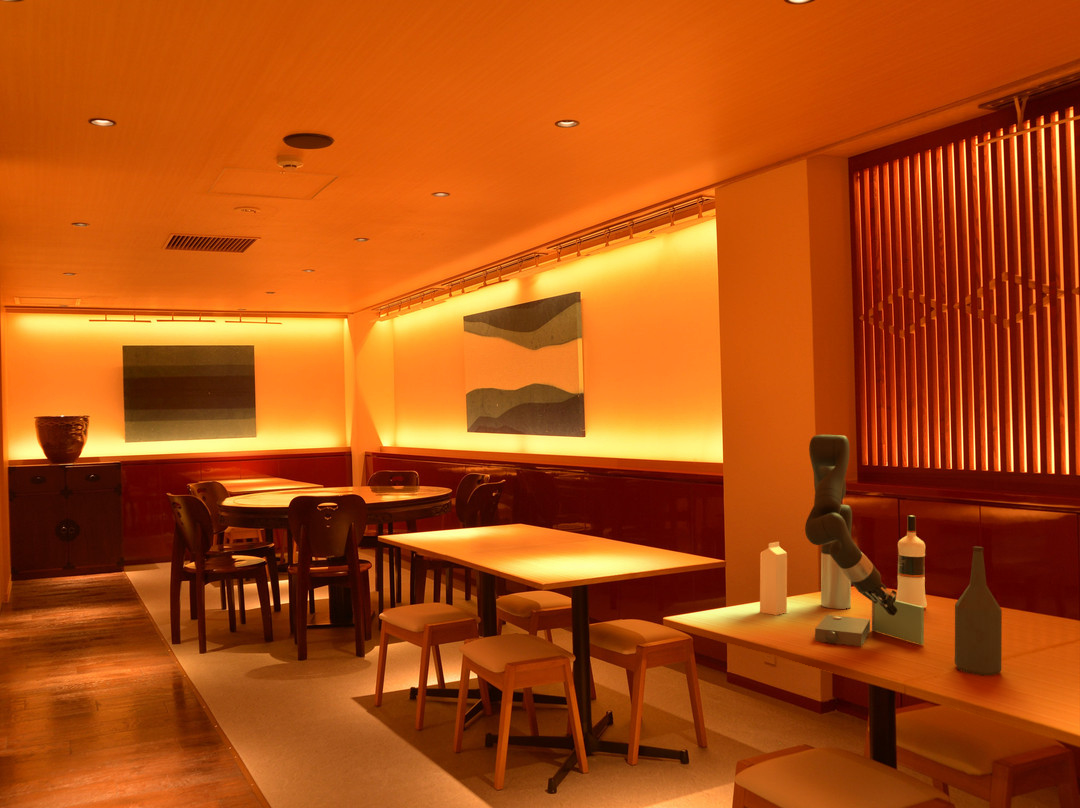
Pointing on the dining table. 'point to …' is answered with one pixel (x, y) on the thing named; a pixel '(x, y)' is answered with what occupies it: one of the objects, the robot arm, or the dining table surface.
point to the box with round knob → (842, 630)
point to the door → (900, 621)
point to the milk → (773, 580)
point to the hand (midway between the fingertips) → (893, 612)
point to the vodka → (911, 567)
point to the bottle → (978, 624)
